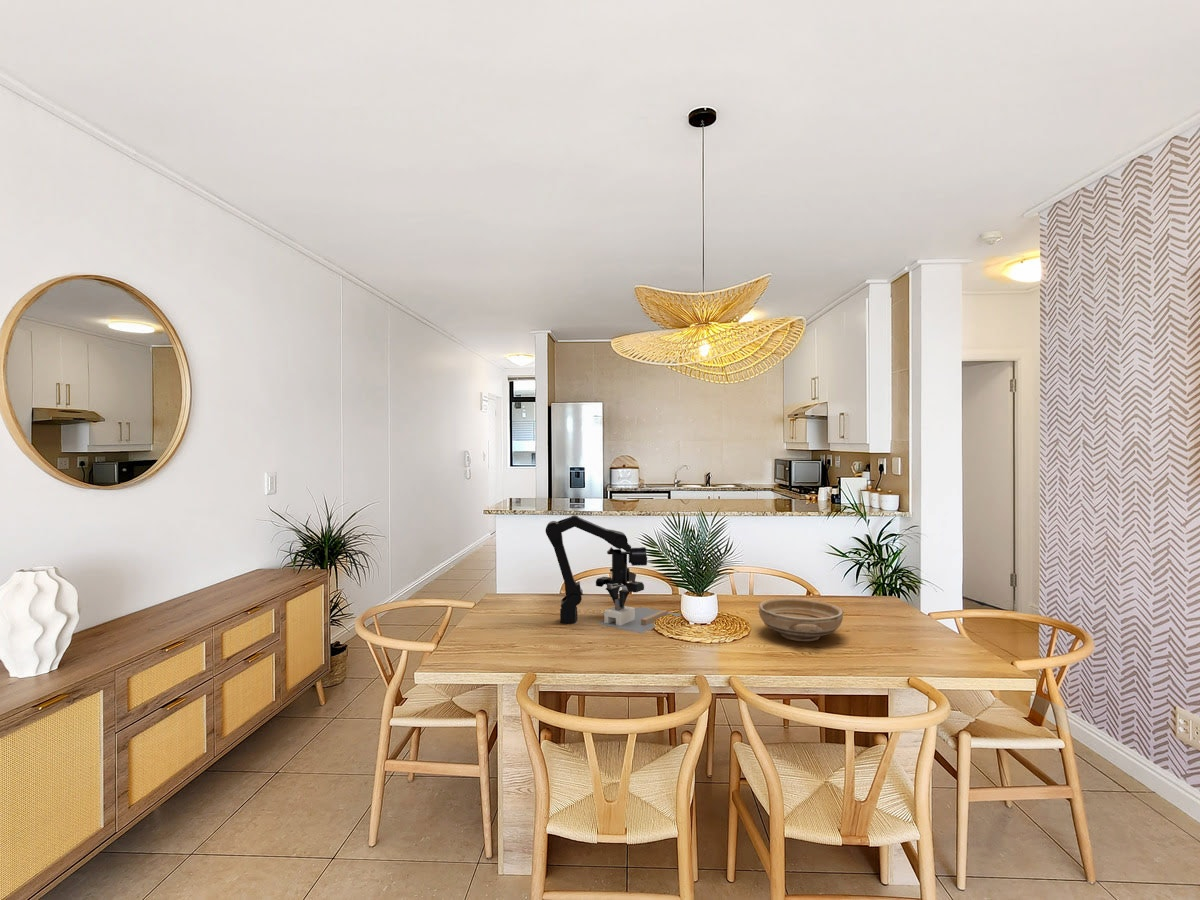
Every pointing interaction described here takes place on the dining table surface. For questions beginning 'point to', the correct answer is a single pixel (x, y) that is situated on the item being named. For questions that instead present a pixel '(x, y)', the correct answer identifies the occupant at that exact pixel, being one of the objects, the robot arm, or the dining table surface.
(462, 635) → the dining table surface
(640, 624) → the cleat board
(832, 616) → the ceramic bowl
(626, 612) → the cabinet block
